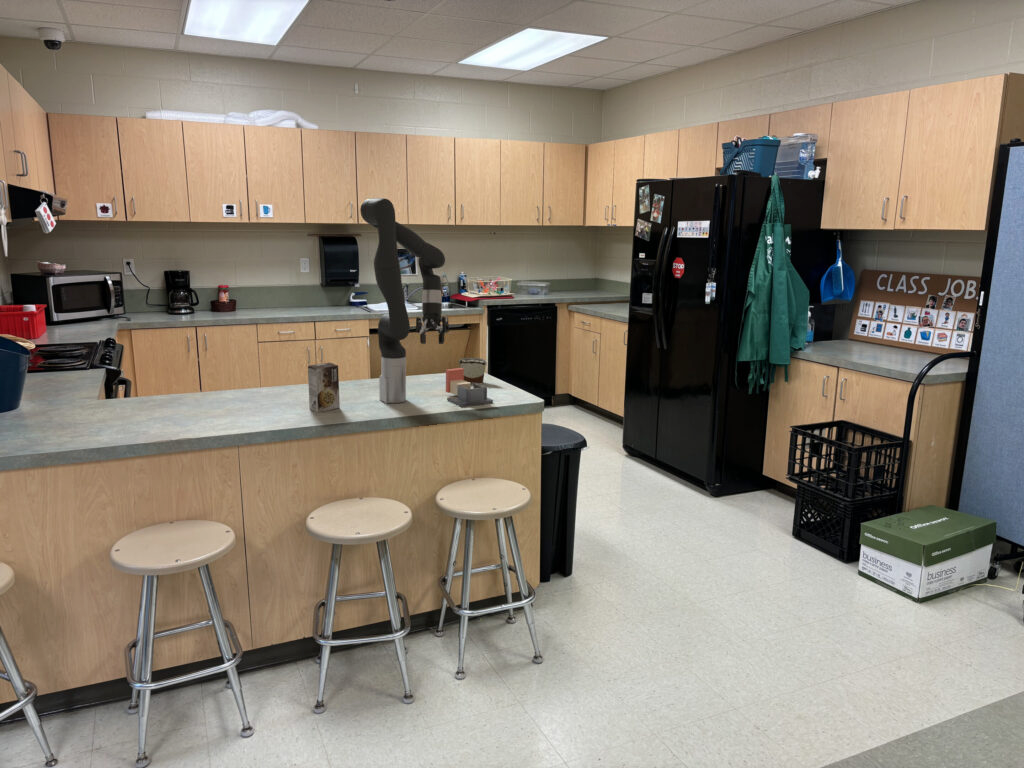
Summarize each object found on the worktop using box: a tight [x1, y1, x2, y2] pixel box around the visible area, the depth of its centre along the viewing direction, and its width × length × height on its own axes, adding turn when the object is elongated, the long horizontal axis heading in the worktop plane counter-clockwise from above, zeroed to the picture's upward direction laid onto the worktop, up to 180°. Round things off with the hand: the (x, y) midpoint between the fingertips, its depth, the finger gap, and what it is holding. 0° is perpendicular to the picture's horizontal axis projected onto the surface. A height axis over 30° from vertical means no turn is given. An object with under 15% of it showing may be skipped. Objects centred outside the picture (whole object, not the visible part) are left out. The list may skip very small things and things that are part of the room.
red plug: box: [445, 367, 472, 396], centre depth 279 cm, size 7×9×9 cm
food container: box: [457, 357, 488, 384], centre depth 306 cm, size 12×6×10 cm, turn 84°
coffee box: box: [307, 362, 341, 413], centre depth 256 cm, size 9×6×16 cm
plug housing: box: [446, 383, 494, 408], centre depth 273 cm, size 14×11×6 cm
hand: (432, 343), depth 276 cm, fingers open, 8 cm apart
